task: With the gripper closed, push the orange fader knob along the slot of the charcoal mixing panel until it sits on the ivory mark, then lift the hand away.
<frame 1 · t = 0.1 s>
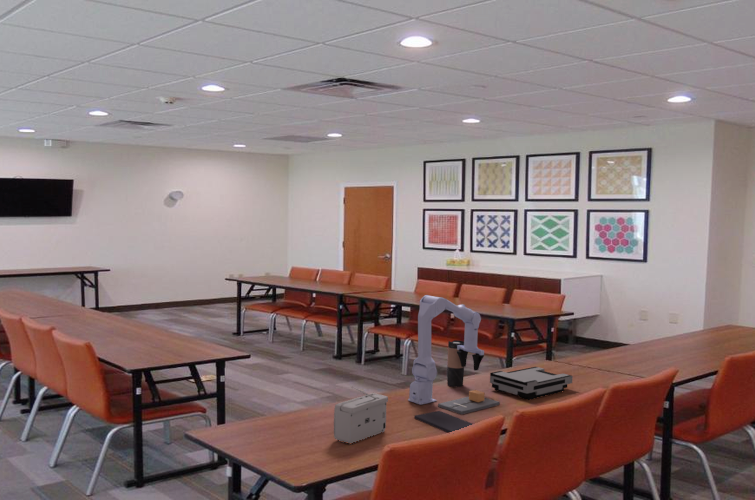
hand: (469, 368, 301), 10 cm above the table, tool pointing down, fingers open, 7 cm apart
fader knob: (476, 396, 281), point 3 cm above the table, slide at 0.0 cm
stereo radio cassette player: (361, 437, 238), on the table
travel mug: (455, 385, 311), on the table
notebook: (445, 425, 255), on the table
fader panel: (469, 405, 279), on the table
game console: (530, 391, 306), on the table
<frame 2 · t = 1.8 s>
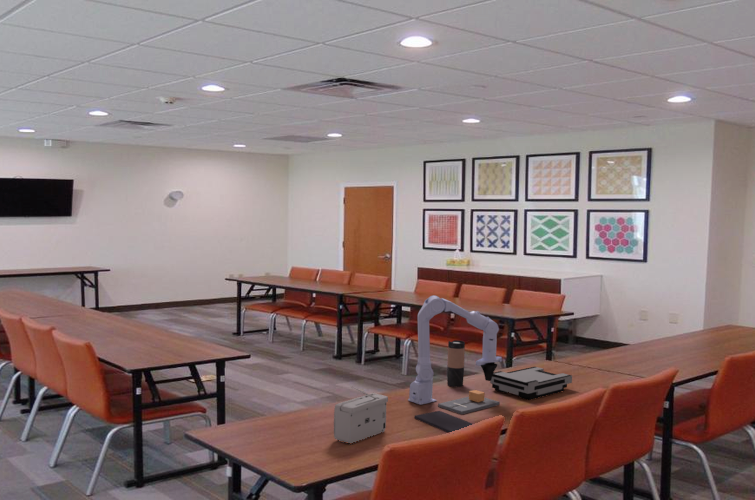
hand: (488, 380, 286), 9 cm above the table, tool pointing down, fingers closed
nothing on the table moved.
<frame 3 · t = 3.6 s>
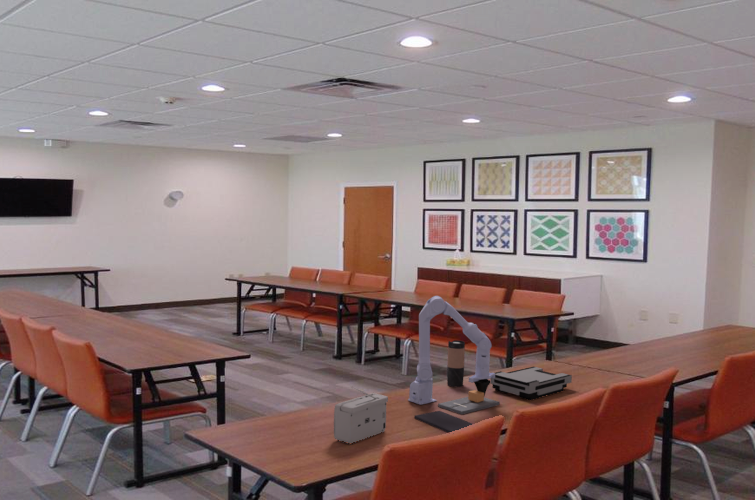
hand: (481, 397, 283), 2 cm above the table, tool pointing down, fingers closed
fader knob: (476, 396, 281), point 3 cm above the table, slide at 0.3 cm, touching gripper
everything else where it was.
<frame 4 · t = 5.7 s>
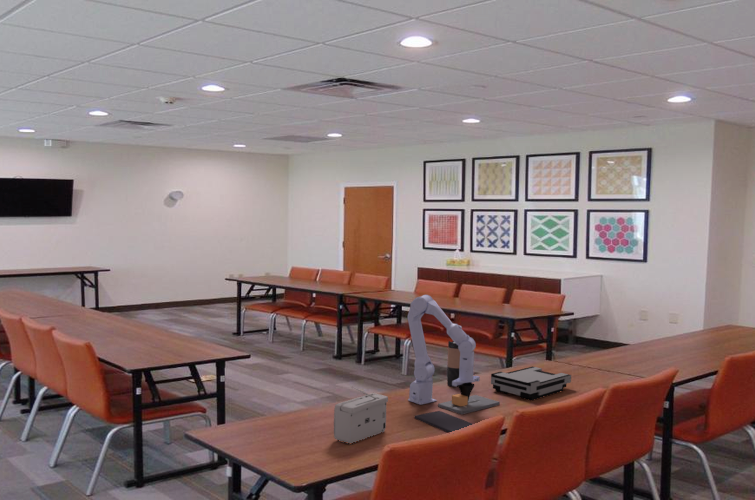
hand: (465, 400, 277), 2 cm above the table, tool pointing down, fingers closed
fader knob: (459, 400, 275), point 3 cm above the table, slide at 10.3 cm, touching gripper
everything else where it was.
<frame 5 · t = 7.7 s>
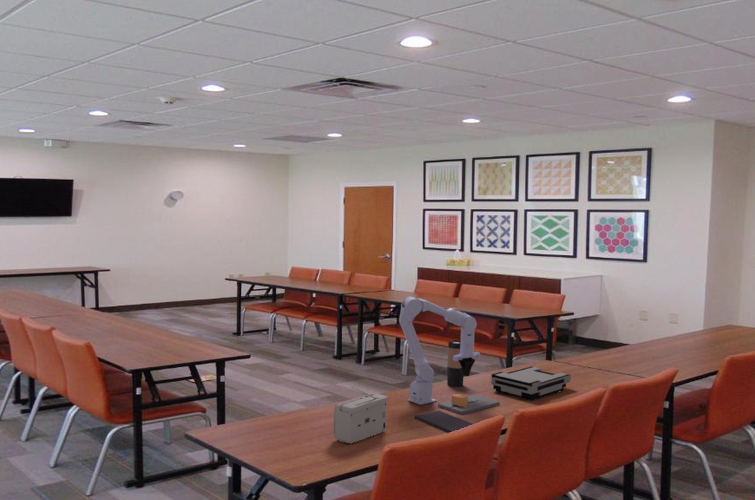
hand: (466, 375, 286), 10 cm above the table, tool pointing down, fingers closed
fader knob: (459, 400, 275), point 3 cm above the table, slide at 10.4 cm
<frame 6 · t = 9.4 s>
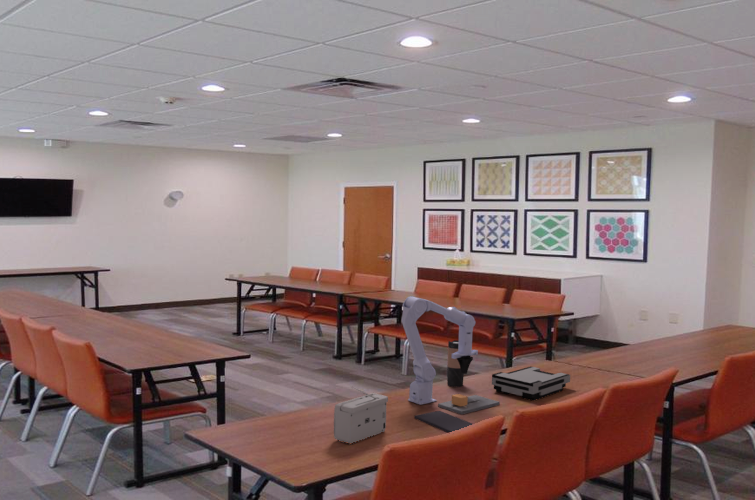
hand: (464, 373, 290), 10 cm above the table, tool pointing down, fingers closed
at the end: fader knob slide at 10.4 cm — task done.
